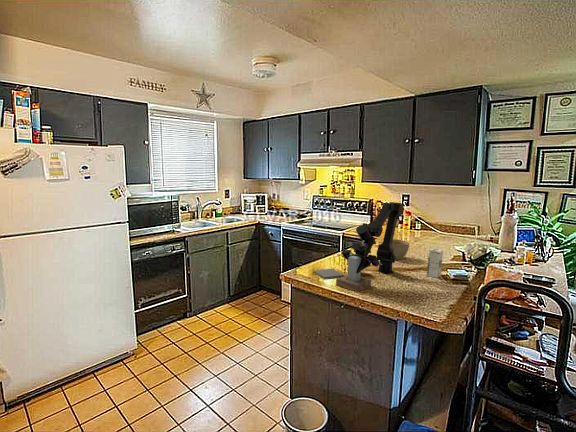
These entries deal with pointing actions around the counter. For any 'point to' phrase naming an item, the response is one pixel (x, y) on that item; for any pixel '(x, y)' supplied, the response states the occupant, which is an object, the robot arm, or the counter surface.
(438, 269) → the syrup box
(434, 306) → the counter surface
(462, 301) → the counter surface
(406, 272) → the counter surface
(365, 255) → the robot arm
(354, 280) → the slate peg
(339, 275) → the charcoal mat
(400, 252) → the planter bowl
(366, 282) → the walnut pocket block
